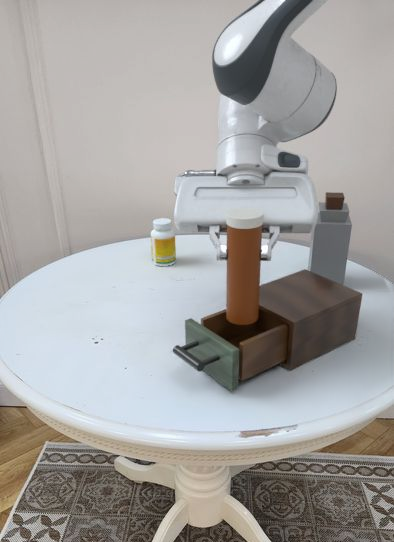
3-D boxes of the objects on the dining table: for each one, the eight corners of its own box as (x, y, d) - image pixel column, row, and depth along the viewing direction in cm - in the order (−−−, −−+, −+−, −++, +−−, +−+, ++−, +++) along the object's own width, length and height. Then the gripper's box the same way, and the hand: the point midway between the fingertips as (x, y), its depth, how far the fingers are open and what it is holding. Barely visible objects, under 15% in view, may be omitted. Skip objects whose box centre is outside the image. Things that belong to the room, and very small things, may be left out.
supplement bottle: (147, 262, 120) (144, 220, 115) (166, 256, 123) (164, 215, 118) (161, 269, 117) (159, 226, 112) (181, 262, 120) (179, 221, 115)
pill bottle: (265, 318, 80) (271, 213, 71) (240, 329, 77) (242, 221, 69) (243, 306, 83) (246, 204, 74) (218, 316, 81) (218, 212, 72)
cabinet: (289, 371, 83) (294, 322, 78) (237, 338, 91) (238, 293, 87) (355, 339, 90) (362, 293, 86) (301, 311, 99) (305, 268, 94)
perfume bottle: (307, 275, 113) (315, 189, 103) (339, 276, 112) (351, 190, 102) (308, 288, 107) (317, 199, 98) (342, 290, 106) (355, 200, 97)
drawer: (208, 402, 75) (208, 362, 71) (164, 366, 83) (161, 328, 79) (302, 357, 84) (306, 319, 81) (253, 329, 92) (255, 293, 88)
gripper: (172, 158, 75) (167, 249, 72) (319, 157, 74) (320, 250, 71) (177, 182, 81) (172, 266, 78) (313, 181, 80) (313, 268, 77)
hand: (243, 259), depth 74 cm, fingers closed on pill bottle, 5 cm apart
